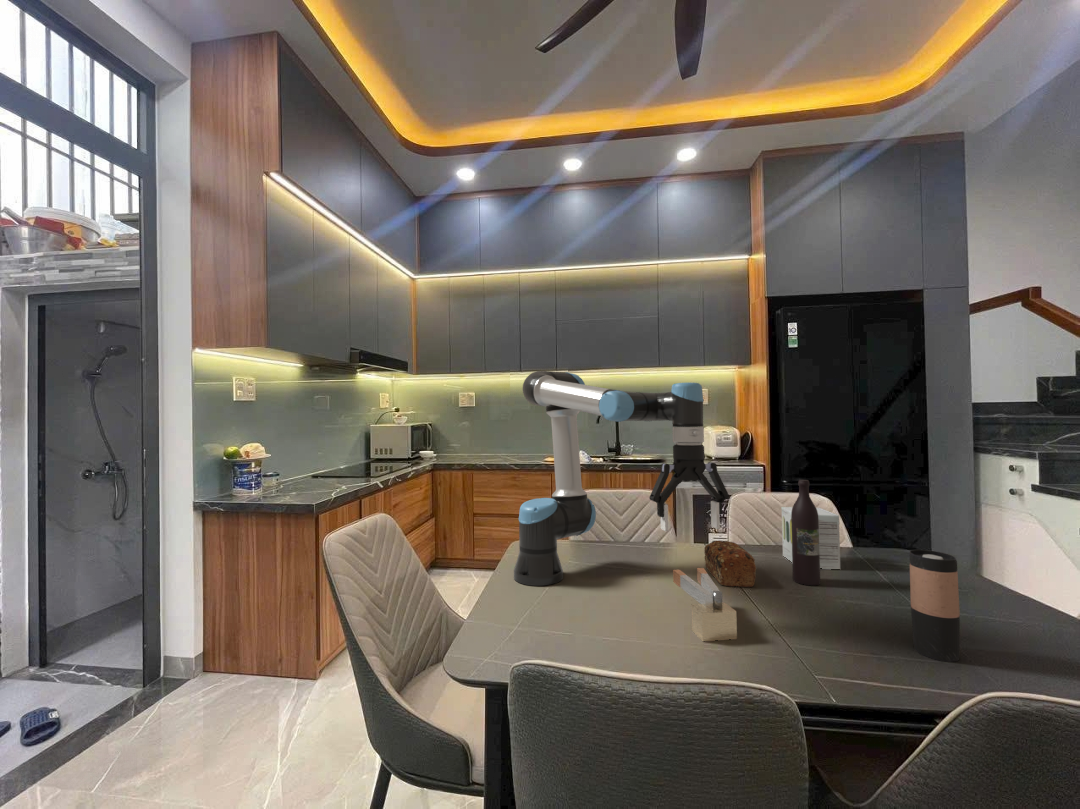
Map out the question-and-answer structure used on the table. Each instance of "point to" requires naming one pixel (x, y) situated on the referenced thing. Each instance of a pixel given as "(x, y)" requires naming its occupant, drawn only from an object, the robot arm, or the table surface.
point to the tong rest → (707, 612)
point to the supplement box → (827, 537)
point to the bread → (730, 564)
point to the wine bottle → (805, 538)
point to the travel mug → (935, 604)
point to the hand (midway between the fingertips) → (690, 529)
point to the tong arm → (709, 587)
